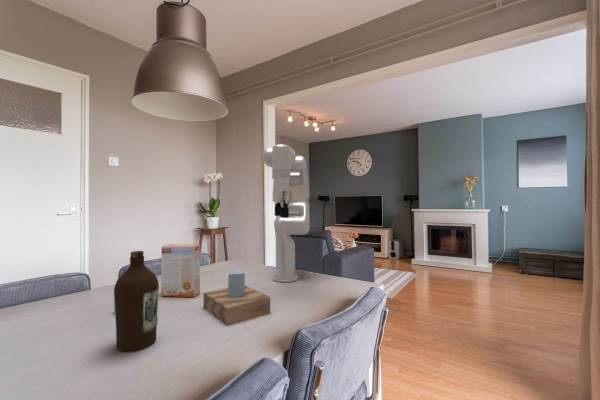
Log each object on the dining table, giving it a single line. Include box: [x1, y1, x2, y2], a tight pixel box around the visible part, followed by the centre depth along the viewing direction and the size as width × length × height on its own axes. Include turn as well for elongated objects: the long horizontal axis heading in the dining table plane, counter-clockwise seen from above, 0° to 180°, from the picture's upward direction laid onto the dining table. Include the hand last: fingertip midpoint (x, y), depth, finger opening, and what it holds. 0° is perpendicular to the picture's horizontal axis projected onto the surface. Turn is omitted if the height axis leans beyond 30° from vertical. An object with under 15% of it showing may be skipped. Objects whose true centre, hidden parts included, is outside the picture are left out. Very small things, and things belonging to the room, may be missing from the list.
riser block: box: [202, 285, 271, 326], centre depth 103 cm, size 20×16×6 cm
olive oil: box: [113, 250, 160, 353], centre depth 79 cm, size 11×11×25 cm
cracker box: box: [161, 243, 201, 298], centre depth 120 cm, size 14×6×21 cm, turn 84°
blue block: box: [227, 269, 246, 298], centre depth 103 cm, size 6×6×8 cm
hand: (281, 216), depth 119 cm, fingers open, 9 cm apart
